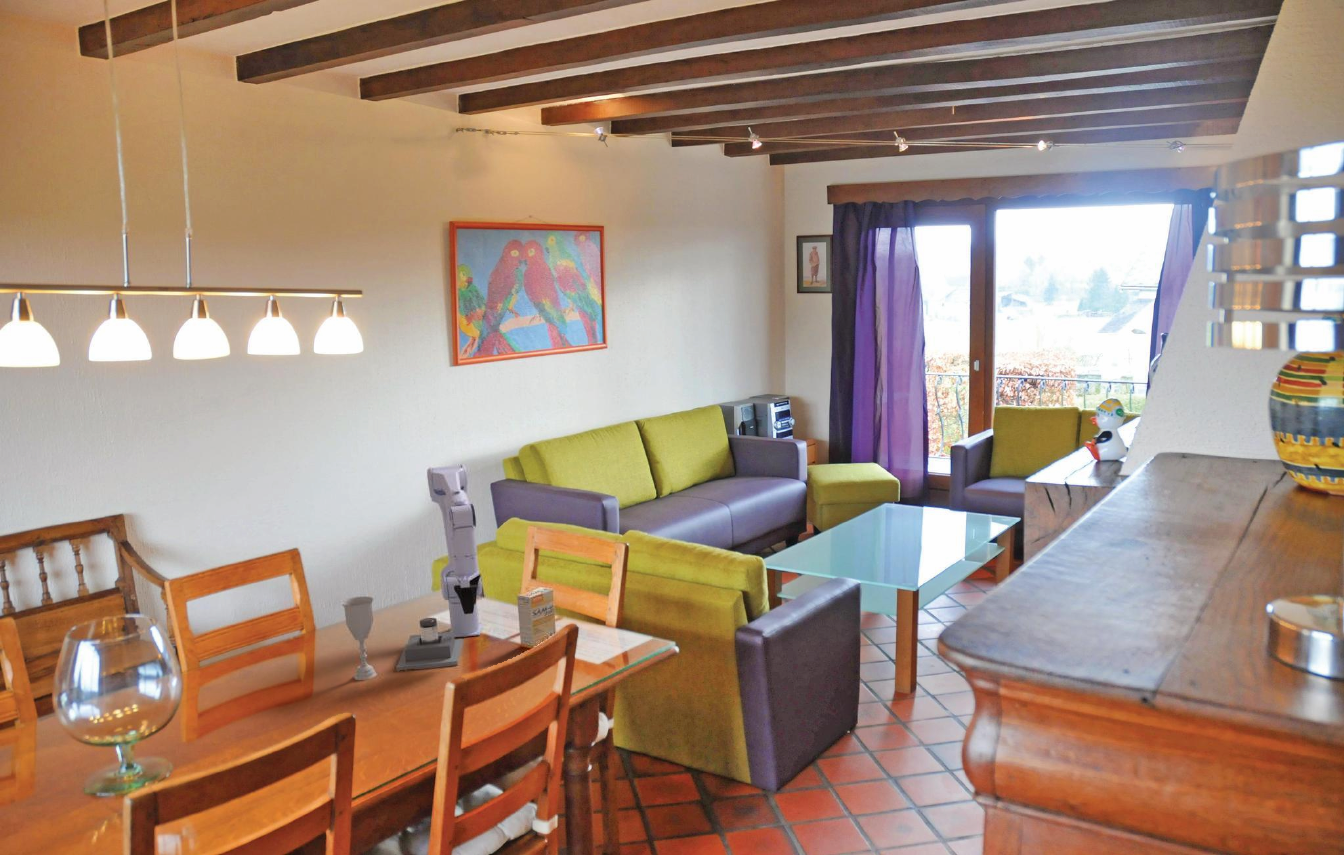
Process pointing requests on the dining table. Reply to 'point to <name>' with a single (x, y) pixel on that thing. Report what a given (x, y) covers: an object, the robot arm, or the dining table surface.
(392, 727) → the dining table surface
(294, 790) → the dining table surface
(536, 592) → the supplement box
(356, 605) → the chalice
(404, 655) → the socket mount
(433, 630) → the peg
